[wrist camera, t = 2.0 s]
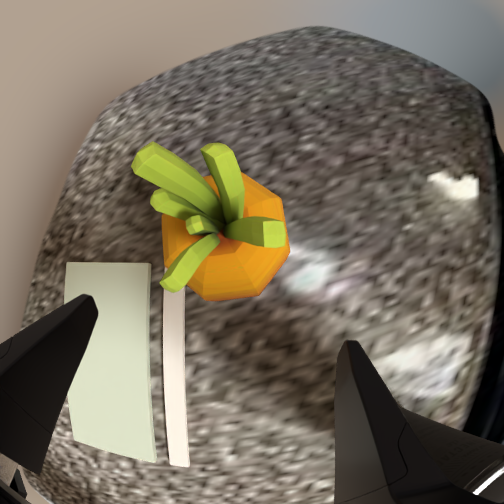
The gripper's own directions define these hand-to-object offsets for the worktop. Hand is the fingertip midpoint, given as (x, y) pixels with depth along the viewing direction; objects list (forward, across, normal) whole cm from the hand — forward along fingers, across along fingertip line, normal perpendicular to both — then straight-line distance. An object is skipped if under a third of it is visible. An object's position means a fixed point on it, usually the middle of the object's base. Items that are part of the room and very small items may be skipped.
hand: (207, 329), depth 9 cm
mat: (+4, +10, +12) cm, 16 cm away
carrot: (+10, 0, +6) cm, 12 cm away
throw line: (+4, +4, +11) cm, 12 cm away
